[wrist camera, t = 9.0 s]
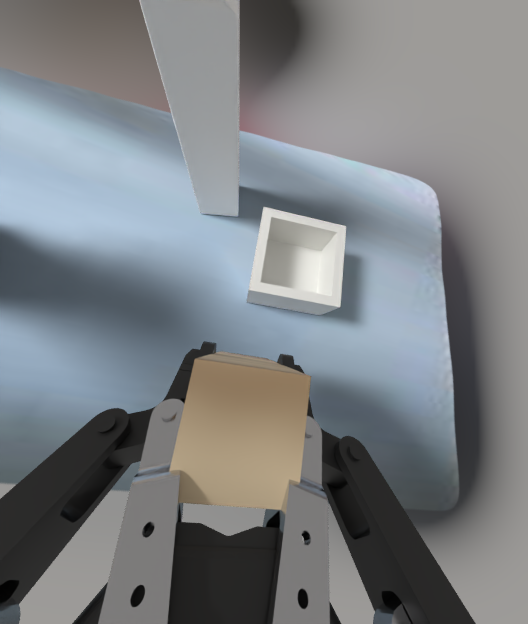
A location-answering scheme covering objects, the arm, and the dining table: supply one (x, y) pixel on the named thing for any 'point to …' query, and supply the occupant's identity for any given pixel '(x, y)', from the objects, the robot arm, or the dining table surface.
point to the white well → (297, 263)
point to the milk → (202, 91)
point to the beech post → (241, 431)
